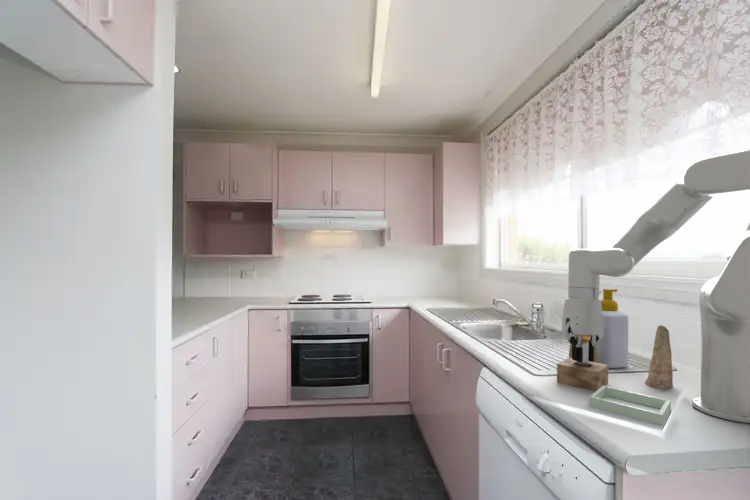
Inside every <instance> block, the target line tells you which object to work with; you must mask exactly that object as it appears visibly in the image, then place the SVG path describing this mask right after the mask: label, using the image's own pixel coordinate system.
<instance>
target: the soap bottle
mask: <svg viewBox="0 0 750 500" xmlns="http://www.w3.org/2000/svg"><path fill="white" fill-rule="evenodd" d="M602 292H603V294H602V295H603V297H602V299H600V301H601V306H602V314H603V333H604V336H603V337H601V338H600V339H599V340H598V341H597V342H596V348H597V358H598V360H597V363H601V364H606V365H608V369H618V368H626V367H628V365H629V315H628V313H625V312H623V311H621V310H618V309H619V304H618V302H617V301H615V300H614V299H613V293H616V292H617V293H618V288H603V289H602Z"/></svg>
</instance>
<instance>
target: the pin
mask: <svg viewBox="0 0 750 500" xmlns="http://www.w3.org/2000/svg"><path fill="white" fill-rule="evenodd" d="M575 338H577V337H575ZM589 340H591V335H590V336H582V340H581V347H582V348H583V361H582V362H578V361H576V365H579V366H584V367H589Z"/></svg>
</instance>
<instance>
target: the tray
mask: <svg viewBox="0 0 750 500" xmlns="http://www.w3.org/2000/svg"><path fill="white" fill-rule="evenodd" d="M606 396H607V397H612V398H616V399H619V400H620V399H621V400H625V401H629V402H632V403H637V404H641V405H646V406H649V407H654V408H658V409H660V410H659V411H658V412H656V411H652V410H649V409H645V408H641V407H636V406H634V405H633V406H632V405H628V404H625V403H620V402H616V401H613V400H608V399H604V397H606ZM588 401H589V402H588V403H589V407H594V408H596V409H600V410H603V411H608V412H612V413H616V414H619V415H623V416H626V417H629V418H630V417H631V418H635V419H639V420H642V421H645V422H650V423H653V424H656V425H660V426H661V425H662V428H661V430H663V429H664V427H665V425H666V423H667V421H668V420H669V417H670V415H671V410H672V409H671V407H672V406H671V402H672V401H671V400H670V399H666V398H661V397H657V396H652V395H648V394H643V393H638V392H635V391H630V390H625V389H620V388H616V387H613V386H607V385H606V386H602V387H601V388H599V389H598V390H597V391H596V392H595V391H594V392H593V393H592V394H591V395H590V396H589V400H588Z"/></svg>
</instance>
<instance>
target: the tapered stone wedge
mask: <svg viewBox="0 0 750 500" xmlns="http://www.w3.org/2000/svg"><path fill="white" fill-rule="evenodd" d="M669 331H670V330H668V327H666V326H664V325H663V324H660V325H658V326H657V328H656V331H655V336H654V342H653V349H652V355H651V358H650V359H651V360H650V363H649V369H648V375H647V377H646V379H645V382H644V384H645V385H647V386H649V387H652V388H656V389H672V388H673V387H674V383H673V382H674V381H673V375H674V373H673V362H672V346H671V341H670V332H669Z"/></svg>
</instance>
